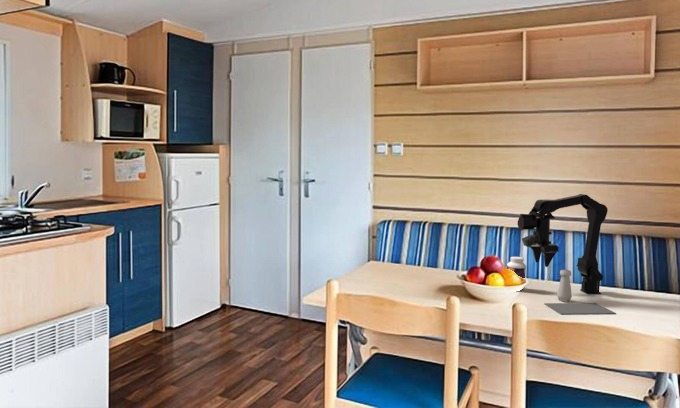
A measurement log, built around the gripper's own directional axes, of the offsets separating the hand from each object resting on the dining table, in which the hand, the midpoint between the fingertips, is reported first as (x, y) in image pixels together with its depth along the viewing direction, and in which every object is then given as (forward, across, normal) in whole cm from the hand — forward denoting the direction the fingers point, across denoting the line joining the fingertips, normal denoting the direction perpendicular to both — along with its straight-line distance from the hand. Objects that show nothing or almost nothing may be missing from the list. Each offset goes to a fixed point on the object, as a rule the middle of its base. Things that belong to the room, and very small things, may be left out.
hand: (541, 264), depth 238 cm
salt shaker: (+13, +12, +5) cm, 18 cm away
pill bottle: (+13, -7, -9) cm, 17 cm away
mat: (+13, +24, +5) cm, 27 cm away
